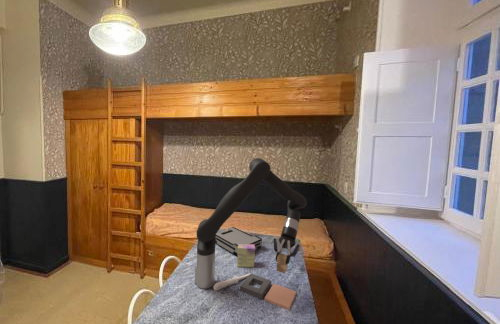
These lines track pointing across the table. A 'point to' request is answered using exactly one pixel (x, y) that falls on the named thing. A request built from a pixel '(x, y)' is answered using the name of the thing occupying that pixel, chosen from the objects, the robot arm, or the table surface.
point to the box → (246, 255)
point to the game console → (236, 240)
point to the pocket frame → (255, 291)
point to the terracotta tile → (280, 296)
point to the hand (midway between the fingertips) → (281, 262)
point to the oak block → (281, 263)
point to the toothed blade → (228, 282)
